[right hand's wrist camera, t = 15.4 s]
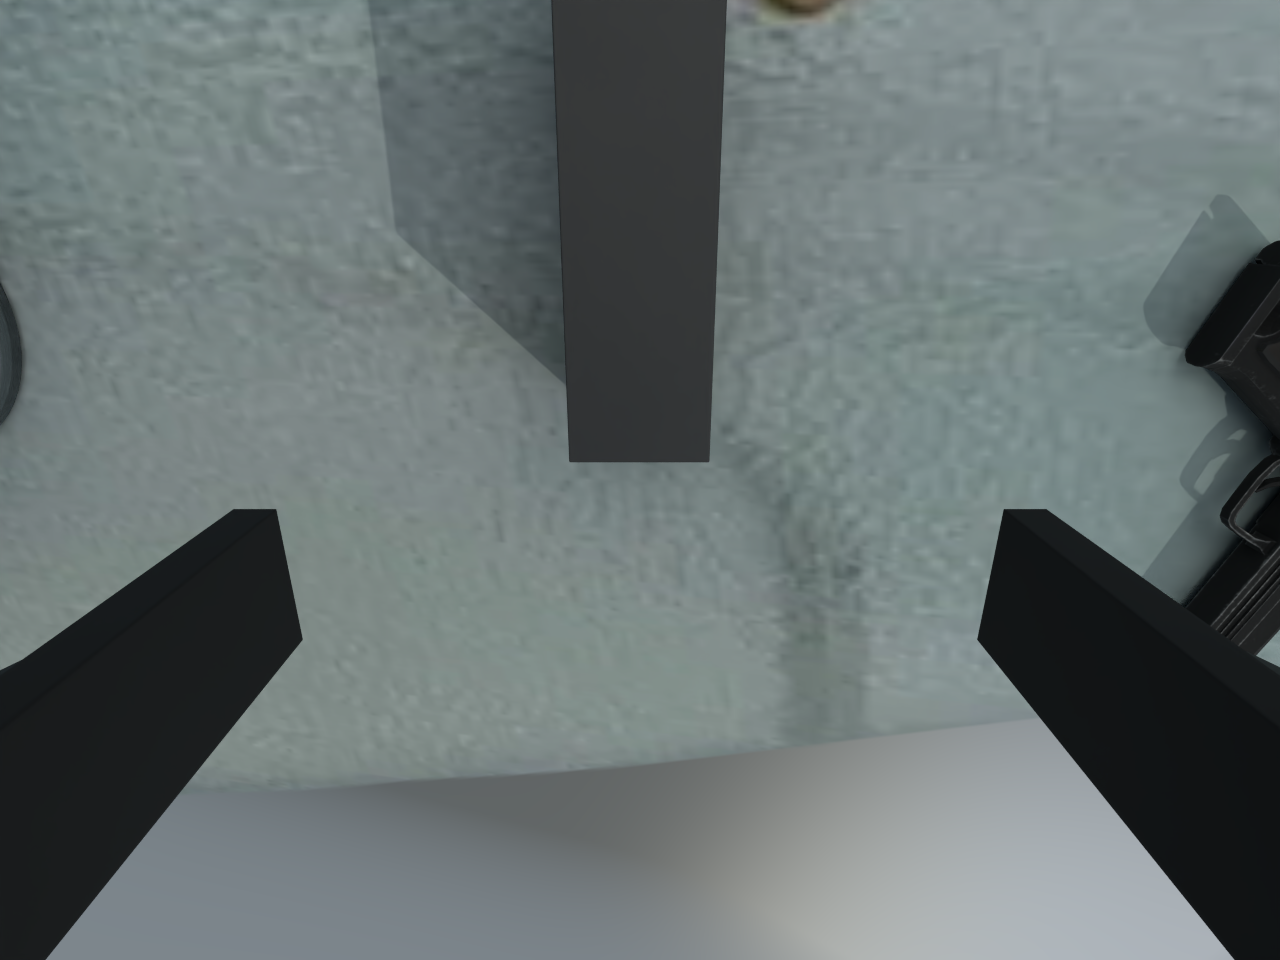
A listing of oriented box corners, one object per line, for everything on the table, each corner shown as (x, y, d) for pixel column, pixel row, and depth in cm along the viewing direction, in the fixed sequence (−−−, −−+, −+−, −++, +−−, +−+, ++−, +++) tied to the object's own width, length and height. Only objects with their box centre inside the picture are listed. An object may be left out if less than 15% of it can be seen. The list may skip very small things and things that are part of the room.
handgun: (1039, 607, 39) (1244, 692, 40) (1313, 240, 31) (1550, 361, 33) (1014, 581, 41) (1206, 662, 43) (1261, 238, 34) (1482, 350, 36)
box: (692, 404, 37) (709, 462, 28) (586, 404, 37) (569, 462, 28) (705, -44, 30) (732, -154, 21) (573, -44, 30) (545, -154, 21)
